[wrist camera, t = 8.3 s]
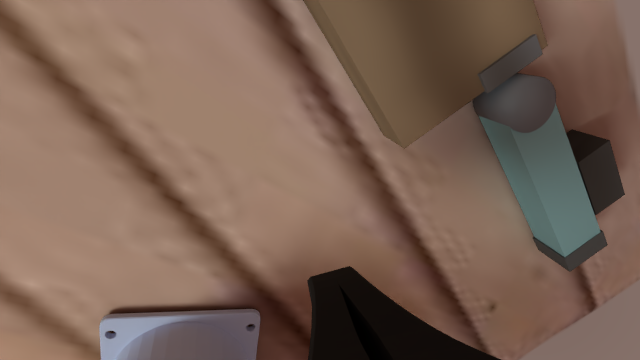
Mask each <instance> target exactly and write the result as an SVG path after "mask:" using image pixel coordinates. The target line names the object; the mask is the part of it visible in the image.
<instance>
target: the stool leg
mask: <svg viewBox="0 0 640 360" xmlns="http://www.w3.org/2000/svg"><path fill="white" fill-rule="evenodd" d="M473 104H474V109H475V111H476V113H477V115H478V116H479V118H480V120H481V122H482V124H483V127H484V129H485V131H486V133H487V135H488V137H489V140H490V142H491V144H492V146H493V148H494V150H495V152H496V155H497V157H498V159H499V161H500V163H501V165H502V168H503V170H504V172H505V174H506V176H507V178H508V181H509V183H510V185H511V187H512V189H513V191H514V194H515V196H516V198H517V200H518V202H519V204H520V207H521V209H522V211H523V213H524V215H525V217H526V219H527V222H528V224H529V226H530V228H531V230H532V232H533V235H534V237H533V239H534V241H535V243H536V246H537V248H538V250H539V251H541V252H542V253H544V254H545V255H547V256H548V257H549V258H551V259H552V260H554V261H555V262H557V263H558V264H559V265H561V266H562V267H564V268H565V269H567V270H568V271H572V270H573V269H575V268H576V267H577V266H579V265H580V264H582V263H583V262H584V261H586V260H587V259H589V258H590V257H591V256H593V255H594V254H596V253H597V252H598V251H600V250H601V249H603V248H604V247H605V246H607V242H606V239H605V236H604V233H603V231H601V230H600V229H599V226H598V223H597V220H596V217H595V214H594V211H593V209H592V206H591V203H590V200H589V197H588V194H587V191H586V189H585V186H584V183H583V180H582V177H581V174H580V172H579V169H578V166H577V163H576V160H575V157H574V154H573V152H572V149H571V146H570V143H569V140H568V137H567V134H566V132H565V129H564V126H563V123H562V120H561V117H560V115H559V112H558V109H557V106H556V92H555V88H554V86H553V84H552V83H551V82H550V81H549V80H548V79H546V78H543V77H539V76H532V75H526V74H520V73H516V74H514V75H513V76H512V77H510V78H509V79H507V80H506V81H505V82H503V83H502V84H500V85H499V86H498V87H496V88H495V89H493V90H492V91H491V92H489V93H485V92H482V93H481V94H480V95H478V96H477V97H475V98H474V99H473Z"/></svg>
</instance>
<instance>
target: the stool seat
mask: <svg viewBox="0 0 640 360" xmlns="http://www.w3.org/2000/svg"><path fill="white" fill-rule="evenodd" d="M303 1H304V2H305V4H306V6H307V7H308V9H309V11H310V12H311V14H312V16H313V18H314V19H315V21H316V23H317V24H318V26H319V28H320V29H321V31H322V33H323V34H324V36H325V38H326V39H327V41H328V43H329V44H330V46H331V48H332V49H333V51H334V53H335V54H336V56H337V58H338V59H339V61H340V63H341V64H342V66H343V68H344V69H345V71H346V73H347V74H348V76H349V78H350V79H351V81H352V83H353V84H354V86H355V88H356V89H357V91H358V93H359V95H360V96H361V98H362V100H363V101H364V103H365V105H366V106H367V108H368V110H369V111H370V113H371V115H372V116H373V118H374V120H375V121H376V123H377V125H378V126H379V128H380V130H381V131H382V133H383V135H384V136H386V137H387V138H389V139H390V140H392V141H393V142H395V143H396V144H398V145H399V146H401V147H402V148H406V147H407V146H409V145H410V144H411V143H413V142H414V141H416V140H417V139H418V138H420V137H421V136H423V135H424V134H425V133H427V132H428V131H429V130H431V129H432V128H434V127H435V126H436V125H438V124H439V123H441V122H442V121H443V120H445V119H446V118H448V117H449V116H450V115H452V114H453V113H455V112H456V111H457V110H459V109H460V108H461V107H463V106H464V105H466V104H467V103H468V102H470V101H471V100H473V99H474V98H475V97H477V96H478V95H480V94H481V93H482V92H485V93H489V92H491V91H492V90H493V89H495V88H496V87H498V86H499V85H500V84H502V83H503V82H505V81H506V80H507V79H509V78H510V77H512V76H513V75H514V74H516V73H517V72H519V71H520V70H521V69H523V68H524V67H525V66H527V65H528V64H530V63H531V62H532V61H534V60H535V59H537V58H538V57H539V56H541V55H542V54H543V53H542V49H544V48H545V47H546V46H548V44H547V41H546V38H545V35H544V32H543V29H542V26H541V23H540V20H539V17H538V14H537V11H536V8H535V5H534V2H533V0H303ZM567 137H568V140H569V143H570V146H571V149H572V152H573V154H574V157H575V160H576V163H577V166H578V169H579V172H580V174H581V177H582V180H583V183H584V186H585V189H586V191H587V194H588V197H589V200H590V203H591V206H592V209H593V211H594V214H595V215H597V214H598V213H599V212H601V211H602V210H604V209H605V208H606V207H608V206H609V205H611V204H612V203H614V202H615V201H616V200H618V199H619V198H621V197H622V196H623V195H625V193H624V190H623V186H622V183H621V179H620V176H619V172H618V169H617V165H616V162H615V158H614V154H613V151H612V147H611V144H610V140H606V139H603V138H600V137H596V136H593V135H589V134H586V133H582V132H579V131H576V130H571V131H569V132H568V133H567Z"/></svg>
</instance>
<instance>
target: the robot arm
mask: <svg viewBox="0 0 640 360" xmlns="http://www.w3.org/2000/svg"><path fill="white" fill-rule="evenodd" d="M308 287H309V292H310V297H311V302H312V328H311V339H310V348H309V356H308V360H501V359H498V358H496V357H493V356H491V355H489V354H486V353H484V352H482V351H479V350H477V349H475V348H473V347H470V346H468V345H466V344H464V343H462V342H460V341H458V340H456V339H454V338H452V337H450V336H448V335H446V334H444V333H442V332H441V331H439V330H437V329H435V328H434V327H432V326H430V325H429V324H427V323H425V322H424V321H422V320H420V319H419V318H417V317H416V316H414V315H413V314H411V313H410V312H408V311H407V310H405V309H404V308H402V307H401V306H400V305H398V304H397V303H395V302H394V301H393V300H391V299H390V298H389V297H387V296H386V295H385V294H383V293H382V292H381V291H379V290H378V289H377V288H376V287H374V286H373V285H372V284H371V283H370V282H368V281H367V280H366V279H365V278H364V277H362V276H361V275H360V274H359V273H358V272H357V271H356V270H354V269H353V268H352V267H350V266H349V267H345V268H341V269H338V270H334V271H330V272H327V273H323V274H319V275H316V276H312V277H310V278H309V280H308ZM249 324H254V325H253V326H251V327H248V326H247V325H249ZM99 328H100V348H101V360H256V354H257V345H258V337H259V328H260V313H259V312H258V311H257V310H256V309H234V310H207V311H179V312H152V313H125V314H109V315H106V316H104V317H103V318H102V320H101V323H100V326H99ZM108 331H114V332H116V333H109V332H108Z"/></svg>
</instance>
